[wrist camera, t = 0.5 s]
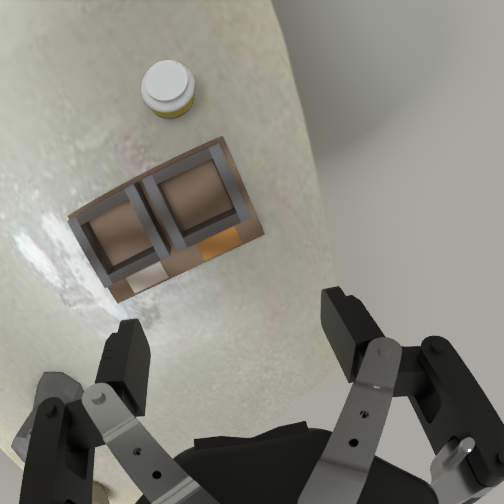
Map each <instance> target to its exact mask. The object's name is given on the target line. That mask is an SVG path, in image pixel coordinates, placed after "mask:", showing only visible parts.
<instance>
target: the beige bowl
mask: <svg viewBox="0 0 504 504" xmlns="http://www.w3.org/2000/svg"><path fill="white" fill-rule="evenodd" d="M92 504H109V500H108V497H107V495H106V493H105V491H104V489H103V488H102V486H101V485H100V484H98V483H96V482H94V481H93V489H92Z"/></svg>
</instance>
